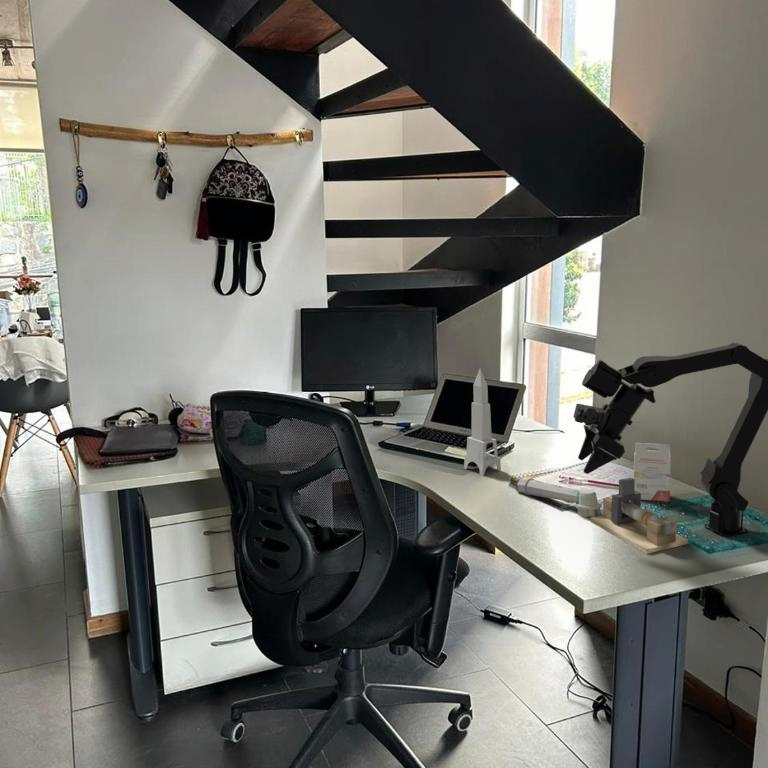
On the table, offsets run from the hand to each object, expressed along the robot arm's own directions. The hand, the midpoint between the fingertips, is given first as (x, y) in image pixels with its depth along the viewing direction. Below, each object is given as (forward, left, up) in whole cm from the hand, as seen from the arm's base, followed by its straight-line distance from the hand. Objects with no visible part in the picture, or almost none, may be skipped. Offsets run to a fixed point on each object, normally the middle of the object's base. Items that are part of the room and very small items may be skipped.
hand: (582, 465), depth 163 cm
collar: (-9, +4, -14) cm, 17 cm away
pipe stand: (-9, +8, -15) cm, 19 cm away
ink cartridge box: (-26, -8, -15) cm, 31 cm away
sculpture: (+1, -47, -15) cm, 49 cm away
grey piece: (-3, -15, -15) cm, 22 cm away
